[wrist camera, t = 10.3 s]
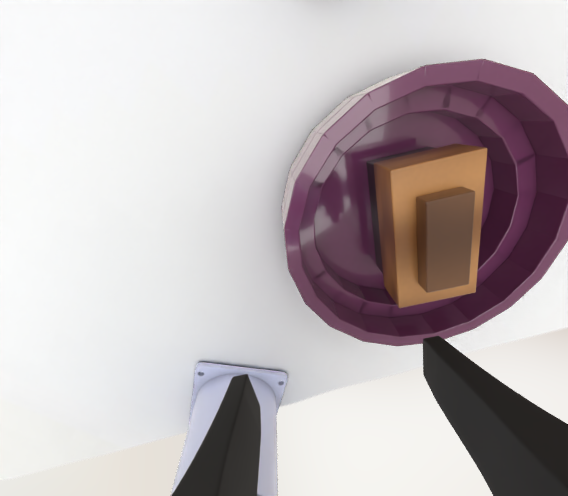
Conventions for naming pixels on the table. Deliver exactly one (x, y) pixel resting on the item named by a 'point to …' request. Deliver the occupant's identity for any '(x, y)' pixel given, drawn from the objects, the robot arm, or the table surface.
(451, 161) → the scrub brush
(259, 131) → the table surface
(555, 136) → the bowl
